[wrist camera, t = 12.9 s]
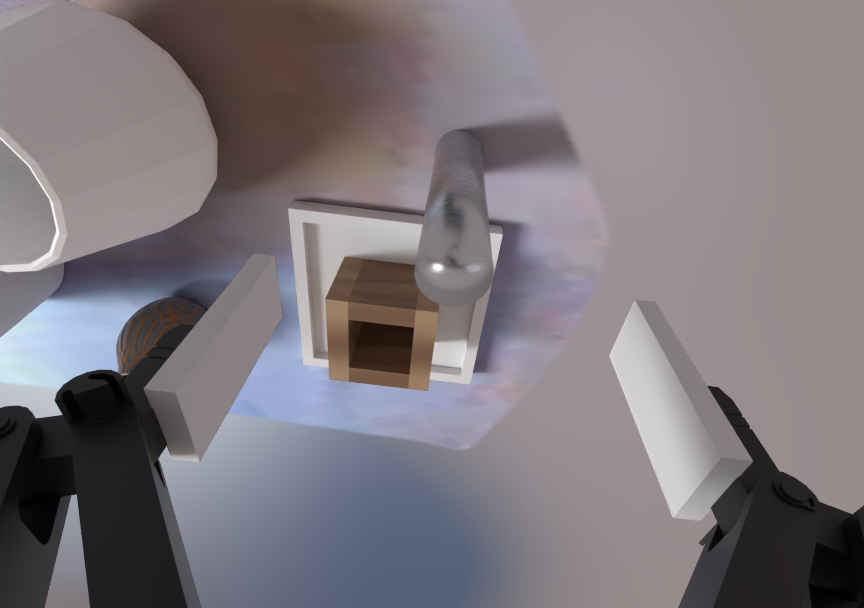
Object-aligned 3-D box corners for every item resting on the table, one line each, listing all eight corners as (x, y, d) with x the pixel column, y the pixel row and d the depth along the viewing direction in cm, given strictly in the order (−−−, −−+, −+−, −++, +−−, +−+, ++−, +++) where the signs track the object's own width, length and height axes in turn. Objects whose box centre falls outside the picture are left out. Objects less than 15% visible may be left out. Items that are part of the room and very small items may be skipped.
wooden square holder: (344, 256, 35) (325, 299, 31) (442, 268, 35) (438, 312, 31) (346, 331, 40) (329, 379, 35) (432, 342, 40) (427, 390, 35)
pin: (438, 127, 30) (417, 234, 17) (485, 133, 30) (500, 244, 17) (433, 173, 32) (411, 301, 19) (477, 178, 32) (485, 310, 19)
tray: (294, 200, 33) (288, 208, 32) (501, 225, 34) (503, 234, 32) (308, 353, 43) (303, 364, 42) (470, 373, 43) (470, 384, 42)
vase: (216, 354, 44) (167, 424, 37) (146, 323, 42) (80, 391, 35) (235, 308, 40) (185, 376, 33) (159, 272, 38) (89, 337, 31)
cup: (220, 234, 36) (106, 347, 24) (41, 151, 33) (-184, 237, 21) (265, 73, 28) (132, 130, 17) (41, -54, 25) (-301, -86, 14)
